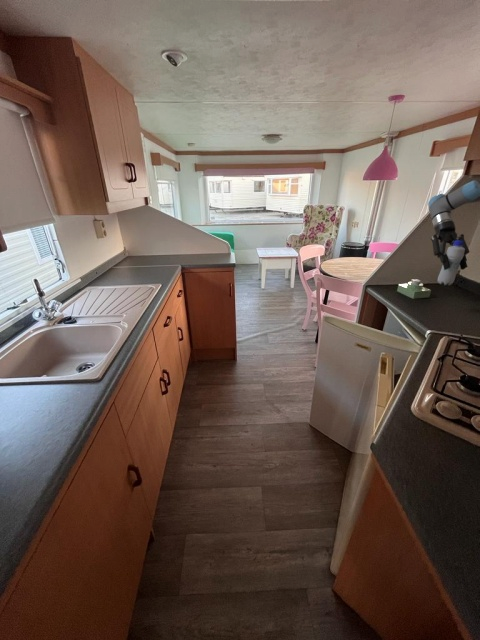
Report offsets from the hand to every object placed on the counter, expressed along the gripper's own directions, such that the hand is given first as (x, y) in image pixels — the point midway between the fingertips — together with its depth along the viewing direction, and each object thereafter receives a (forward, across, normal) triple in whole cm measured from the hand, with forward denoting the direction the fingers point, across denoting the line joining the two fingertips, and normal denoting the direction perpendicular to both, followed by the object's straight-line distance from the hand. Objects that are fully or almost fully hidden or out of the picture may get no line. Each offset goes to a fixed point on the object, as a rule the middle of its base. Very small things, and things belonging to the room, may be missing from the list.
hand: (455, 268), depth 118 cm
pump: (-4, +2, -26) cm, 26 cm away
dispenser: (0, +2, -30) cm, 30 cm away
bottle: (+4, 0, -9) cm, 9 cm away
